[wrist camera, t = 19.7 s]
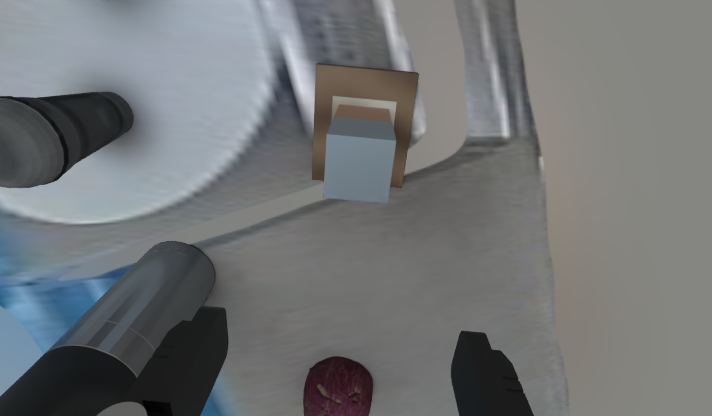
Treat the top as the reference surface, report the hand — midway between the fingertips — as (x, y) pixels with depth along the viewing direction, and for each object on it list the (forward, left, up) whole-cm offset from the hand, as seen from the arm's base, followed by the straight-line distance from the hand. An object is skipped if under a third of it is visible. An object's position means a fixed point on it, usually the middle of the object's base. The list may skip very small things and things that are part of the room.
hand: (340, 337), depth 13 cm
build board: (0, 0, -30) cm, 30 cm away
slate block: (0, 0, -23) cm, 23 cm away
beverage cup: (-1, +27, -30) cm, 41 cm away
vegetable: (-39, 0, -30) cm, 49 cm away
